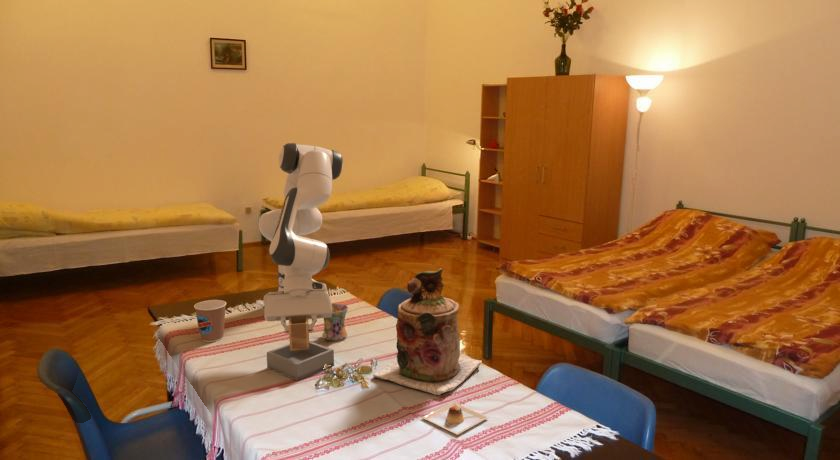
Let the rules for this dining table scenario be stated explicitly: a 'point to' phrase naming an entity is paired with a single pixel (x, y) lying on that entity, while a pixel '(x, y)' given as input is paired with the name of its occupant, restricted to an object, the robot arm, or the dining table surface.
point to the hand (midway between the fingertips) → (299, 331)
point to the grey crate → (300, 360)
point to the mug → (335, 323)
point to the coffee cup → (211, 319)
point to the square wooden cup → (298, 333)
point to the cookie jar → (428, 340)
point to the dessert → (455, 415)
